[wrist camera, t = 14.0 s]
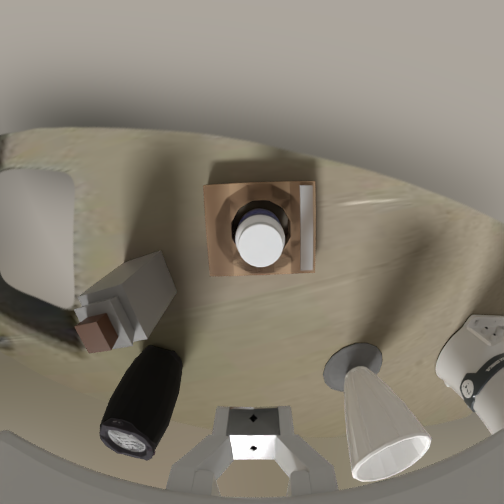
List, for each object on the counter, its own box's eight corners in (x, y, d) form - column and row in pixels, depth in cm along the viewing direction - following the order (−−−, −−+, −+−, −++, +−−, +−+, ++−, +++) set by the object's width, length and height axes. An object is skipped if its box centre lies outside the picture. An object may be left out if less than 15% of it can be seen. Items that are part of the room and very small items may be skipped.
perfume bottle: (177, 291, 41) (133, 362, 24) (140, 301, 42) (86, 367, 24) (161, 250, 40) (101, 301, 22) (124, 262, 40) (56, 313, 23)
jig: (310, 181, 37) (315, 181, 33) (310, 265, 40) (315, 273, 37) (207, 184, 37) (202, 185, 34) (213, 269, 40) (209, 277, 37)
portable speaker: (196, 371, 45) (172, 460, 26) (156, 384, 46) (124, 463, 28) (167, 334, 43) (125, 420, 24) (129, 350, 44) (81, 427, 26)
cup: (309, 376, 45) (333, 477, 24) (355, 331, 43) (408, 426, 22) (350, 398, 47) (381, 485, 26) (393, 358, 44) (444, 440, 24)
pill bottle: (231, 217, 38) (223, 231, 29) (270, 201, 38) (276, 209, 28) (248, 254, 40) (246, 280, 30) (286, 239, 39) (296, 259, 29)
